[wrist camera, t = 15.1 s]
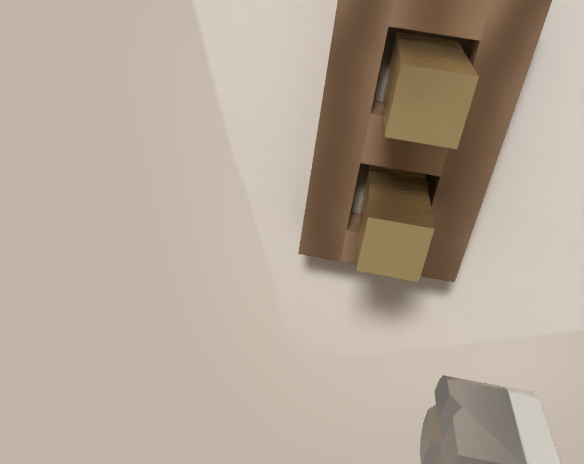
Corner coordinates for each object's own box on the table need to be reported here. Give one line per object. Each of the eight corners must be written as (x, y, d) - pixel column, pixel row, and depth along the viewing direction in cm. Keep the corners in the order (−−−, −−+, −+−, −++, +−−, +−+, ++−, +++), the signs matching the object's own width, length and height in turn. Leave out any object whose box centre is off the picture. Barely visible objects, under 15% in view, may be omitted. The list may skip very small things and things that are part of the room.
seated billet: (457, 41, 35) (478, 76, 28) (441, 100, 38) (457, 149, 30) (396, 31, 36) (401, 64, 28) (384, 91, 38) (384, 137, 30)
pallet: (539, -7, 33) (552, -1, 31) (450, 260, 44) (454, 282, 41) (345, -37, 34) (343, -32, 32) (303, 233, 44) (298, 253, 42)
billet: (424, 168, 40) (434, 228, 32) (411, 215, 42) (418, 282, 35) (370, 159, 40) (368, 217, 33) (360, 206, 42) (356, 271, 35)
